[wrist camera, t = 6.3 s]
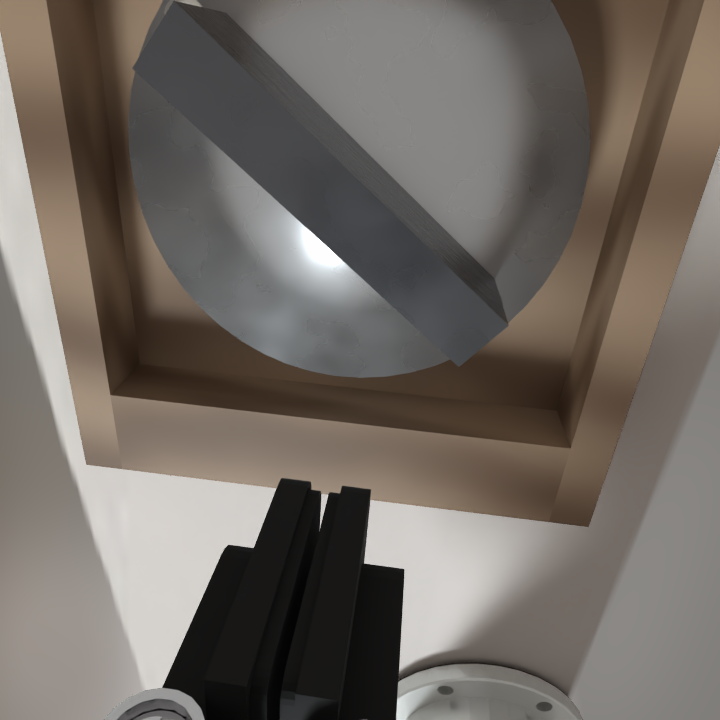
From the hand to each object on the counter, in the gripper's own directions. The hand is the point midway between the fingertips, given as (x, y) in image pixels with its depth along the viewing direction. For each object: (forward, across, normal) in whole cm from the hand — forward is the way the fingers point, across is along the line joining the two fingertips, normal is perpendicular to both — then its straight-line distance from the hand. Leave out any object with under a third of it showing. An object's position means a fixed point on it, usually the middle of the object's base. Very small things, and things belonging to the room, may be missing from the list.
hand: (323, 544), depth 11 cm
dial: (+12, +1, -5) cm, 13 cm away
